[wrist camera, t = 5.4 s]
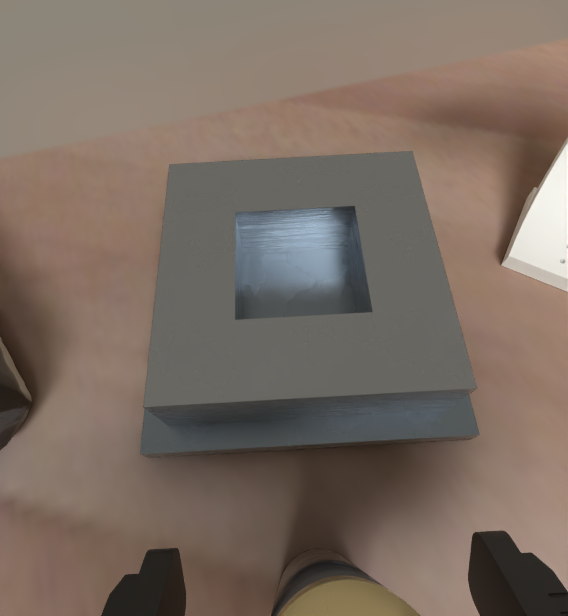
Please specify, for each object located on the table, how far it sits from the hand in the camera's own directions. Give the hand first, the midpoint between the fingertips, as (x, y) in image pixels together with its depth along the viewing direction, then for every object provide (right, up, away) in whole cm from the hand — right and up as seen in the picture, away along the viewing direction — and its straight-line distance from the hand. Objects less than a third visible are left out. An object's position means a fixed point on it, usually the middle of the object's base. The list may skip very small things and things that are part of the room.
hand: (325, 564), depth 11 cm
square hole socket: (0, +7, +9) cm, 11 cm away
